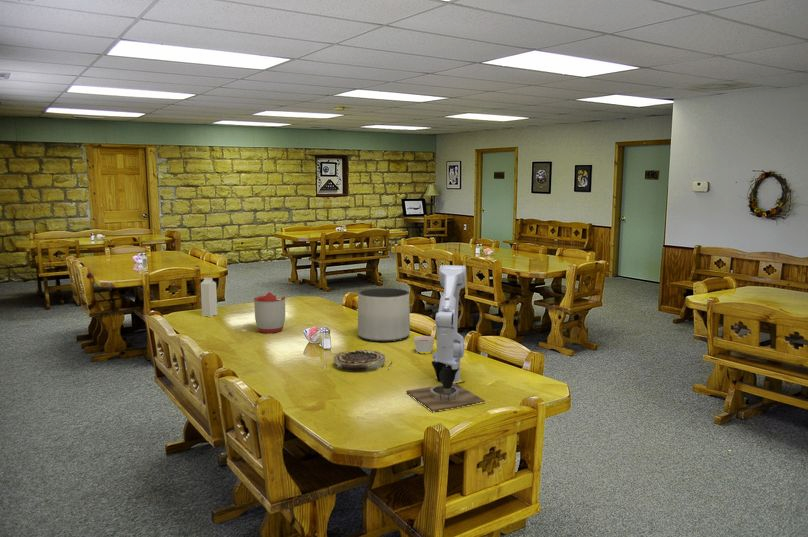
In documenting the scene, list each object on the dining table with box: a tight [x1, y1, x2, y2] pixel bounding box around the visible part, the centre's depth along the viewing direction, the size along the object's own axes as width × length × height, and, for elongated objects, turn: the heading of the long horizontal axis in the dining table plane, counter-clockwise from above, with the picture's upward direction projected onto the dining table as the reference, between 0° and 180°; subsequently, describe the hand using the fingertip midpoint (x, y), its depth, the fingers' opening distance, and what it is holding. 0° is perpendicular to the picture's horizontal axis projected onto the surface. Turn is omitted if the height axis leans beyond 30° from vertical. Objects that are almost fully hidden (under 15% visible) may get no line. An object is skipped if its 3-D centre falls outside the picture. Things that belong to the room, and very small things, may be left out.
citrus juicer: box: [253, 291, 286, 334], centre depth 301 cm, size 16×17×20 cm
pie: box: [333, 349, 390, 373], centre depth 244 cm, size 28×27×5 cm
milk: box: [200, 276, 218, 316], centre depth 333 cm, size 6×6×22 cm
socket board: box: [405, 383, 486, 412], centre depth 207 cm, size 20×20×1 cm
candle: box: [413, 335, 435, 353], centre depth 263 cm, size 9×9×6 cm
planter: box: [357, 287, 411, 342], centre depth 289 cm, size 25×25×22 cm
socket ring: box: [430, 384, 459, 401], centre depth 206 cm, size 10×10×2 cm
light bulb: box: [439, 370, 455, 394], centre depth 206 cm, size 6×6×10 cm
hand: (444, 383), depth 206 cm, fingers closed on light bulb, 5 cm apart
